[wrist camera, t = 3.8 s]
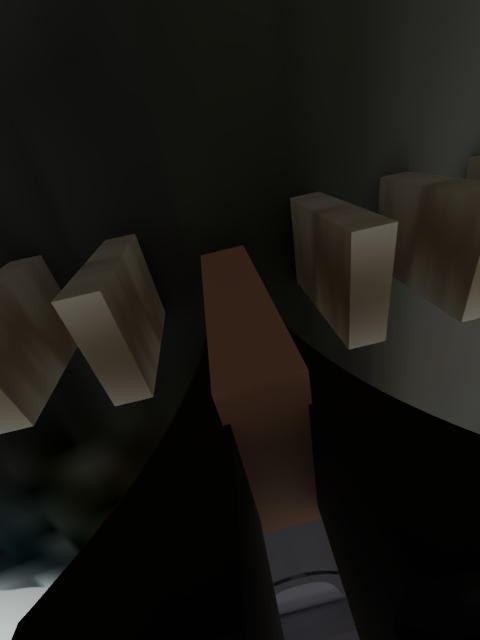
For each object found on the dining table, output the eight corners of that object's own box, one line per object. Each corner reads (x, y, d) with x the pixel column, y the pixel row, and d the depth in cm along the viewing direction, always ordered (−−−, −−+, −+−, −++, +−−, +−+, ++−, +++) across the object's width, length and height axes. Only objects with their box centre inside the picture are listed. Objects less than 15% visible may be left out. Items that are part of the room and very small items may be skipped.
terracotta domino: (264, 350, 13) (324, 517, 7) (230, 359, 13) (262, 534, 7) (243, 245, 11) (308, 370, 5) (200, 255, 11) (211, 394, 5)
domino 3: (322, 276, 18) (385, 340, 12) (297, 282, 18) (348, 349, 12) (318, 191, 16) (398, 221, 10) (289, 198, 16) (351, 232, 10)
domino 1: (85, 332, 18) (33, 425, 12) (59, 337, 18) (-6, 435, 12) (41, 254, 15) (-55, 326, 9) (10, 261, 15) (-106, 338, 9)
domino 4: (398, 258, 18) (497, 313, 12) (374, 263, 18) (461, 322, 12) (408, 171, 16) (540, 189, 10) (380, 177, 16) (494, 199, 10)
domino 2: (165, 313, 18) (152, 397, 12) (139, 319, 18) (114, 406, 12) (135, 233, 15) (99, 290, 9) (105, 240, 15) (50, 302, 9)
